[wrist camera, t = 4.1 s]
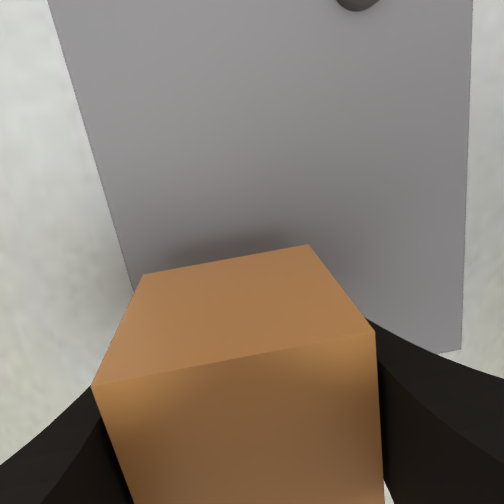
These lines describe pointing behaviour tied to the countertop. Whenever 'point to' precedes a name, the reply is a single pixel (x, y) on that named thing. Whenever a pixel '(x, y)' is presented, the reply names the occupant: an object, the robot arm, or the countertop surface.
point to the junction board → (286, 140)
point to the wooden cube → (244, 386)
